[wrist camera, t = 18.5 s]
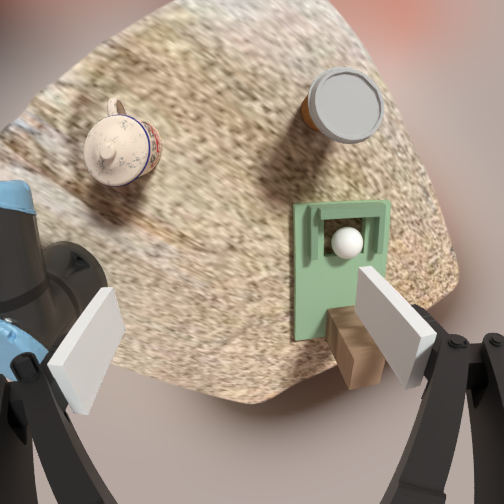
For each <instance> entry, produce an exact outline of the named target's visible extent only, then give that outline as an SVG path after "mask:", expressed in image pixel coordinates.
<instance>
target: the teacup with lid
mask: <svg viewBox="0 0 504 504" xmlns="http://www.w3.org/2000/svg"><path fill="white" fill-rule="evenodd" d="M107 111H108V117H106V118H104V119H102V120H101V121H99V122H98V123H97V124H96V125H95V126H94V127H93V128H92V129H91V131H90V132H89V134H88V136H87V138H86V140H85V144H84V161H85V165H86V167H87V169H88V171H89V173H90V174H91V175H92V177H93V178H95V179H96V180H97V181H98V182H100V183H102V184H104V185H107V186H113V187H118V186H124V185H127V184H129V183H131V182H133V181H134V180H135V179H137V178H138V177H140V176H142V175H144V174H146V173H148V172H150V171H151V170H152V169H153V168H154V167H155V166H156V164H157V163H158V161H159V159H160V157H161V153H162V140H161V137H160V135H159V133H158V131H157V130H156V128H155V127H154V126H152V125H151V124H150V123H148V122H146V121H143V120H138V119H134V118H132V117H130V116H127V112H126V109H125V106H124V104H123V102H122V101H121V100H120V99H119V98H118V97H113V98H111V99H109V101H108V104H107ZM117 112H118V114H117Z"/></svg>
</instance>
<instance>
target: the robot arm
mask: <svg viewBox="0 0 504 504" xmlns="http://www.w3.org/2000/svg"><path fill="white" fill-rule="evenodd" d="M36 215H37V213H36V211H35V210H34V205H33V200H32V194H31V189H30V187H29V185H28V184H27V183H26V182H24V181H22V180H11V181H0V373H1V374H0V504H38V501H37V493H36V486H35V475H34V463H33V446H32V438H33V441H34V444H35V447H36V450H37V453H38V456H39V458H40V461H41V464H42V467H43V469H44V472H45V474H46V477H47V479H48V482H49V484H50V487H51V489H52V491H53V494H54V496H55V498H56V500H57V502H58V504H118V503H117V502H116V500H115V499H114V497H113V496H112V494H111V493H110V491H109V490H108V488H107V487H106V485H105V483H104V482H103V480H102V478H101V477H100V475H99V474H98V472H97V470H96V469H95V467H94V465H93V463H92V461H91V460H90V458H89V456H88V454H87V453H86V450H85V449H84V447H83V445H82V443H81V441H80V439H79V437H78V435H77V433H76V431H75V429H74V427H73V424H72V422H71V420H70V418H69V416H68V414H67V413H66V411H65V410H66V407H67V405H68V404H69V406H70V408H71V410H72V411H73V413H77V414H84V415H89V412H90V410H91V407H92V405H93V402H94V400H95V397H96V395H97V392H98V390H99V388H100V385H101V383H102V381H103V378H104V376H105V374H106V372H107V369H108V367H109V365H110V362H111V360H112V358H113V356H114V354H115V351H116V349H117V347H118V345H119V343H120V340H121V338H122V336H123V334H124V332H125V327H124V323H123V320H122V316H121V313H120V309H119V306H118V302H117V298H116V295H115V291H114V287H108V286H107V280H106V277H105V274H104V272H103V269H102V267H101V266H100V264H99V263H98V261H97V260H96V259H95V257H94V256H93V255H92V254H91V253H90V252H88V251H87V250H86V249H85V248H83V247H81V246H79V245H77V244H75V243H72V242H66V241H61V242H56V243H53V244H51V245H49V246H48V247H47V248H45V249H44V250H43V251H42V247H41V242H40V237H39V232H38V226H37V220H36ZM355 313H356V314H357V316H358V317H359V319H360V320H361V322H362V323H363V325H364V326H365V328H366V329H367V331H368V332H369V334H370V335H371V337H372V338H373V340H374V341H375V343H376V344H377V346H378V348H379V349H380V351H381V352H382V354H383V355H384V357H385V358H386V360H387V362H388V363H389V365H390V366H391V368H392V369H393V371H394V373H395V374H396V376H397V377H398V379H399V381H400V382H401V384H402V385H403V387H404V389H410V388H413V387H416V386H420V384H421V381H422V379H423V376H425V377H426V378H427V380H428V382H427V385H426V388H425V390H424V393H423V395H422V398H421V399H422V401H421V405H420V408H419V411H418V414H417V417H416V420H415V423H414V426H413V428H412V431H411V434H410V437H409V439H408V442H407V444H406V447H405V450H404V452H403V454H402V457H401V460H400V462H399V464H398V466H397V469H396V471H395V473H394V475H393V478H392V480H391V482H390V484H389V486H388V488H387V491H386V493H385V494H384V497H383V498H382V500H381V502H380V504H445V500H446V494H445V493H444V492H443V491H444V487H445V483H446V480H447V477H448V473H449V470H450V467H451V462H452V459H453V455H454V451H455V447H456V442H457V438H458V433H459V429H460V423H461V418H462V412H463V406H464V400H465V393H466V395H467V401H468V408H469V416H470V424H471V433H472V443H473V459H474V486H475V487H474V489H475V490H474V493H475V494H474V496H475V497H474V504H504V336H502V335H500V334H498V333H488V334H486V335H485V337H484V338H483V342H482V343H478V344H477V343H476V344H470V343H469V342H468V341H467V339H466V338H464V337H463V336H460V335H456V334H448V333H447V332H446V331H445V330H444V329H443V328H442V326H440V324H438V322H437V321H435V320H434V318H433V317H432V316H430V314H429V313H428V312H427V311H426V310H425V309H424V308H422V307H420V306H418V305H416V304H414V305H410V304H409V303H408V302H407V301H406V300H405V299H404V298H403V297H402V296H401V295H400V294H399V293H398V292H397V291H396V290H395V289H394V288H393V287H392V286H391V285H390V284H389V283H388V282H387V281H386V280H385V279H384V278H383V277H382V276H381V275H380V274H379V273H378V272H377V271H376V270H375V269H374V268H373V267H372V266H365V267H359V270H358V282H357V293H356V302H355ZM5 377H7V378H9V379H10V380H12V381H13V382H8V381H7V380H6V378H5Z"/></svg>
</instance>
